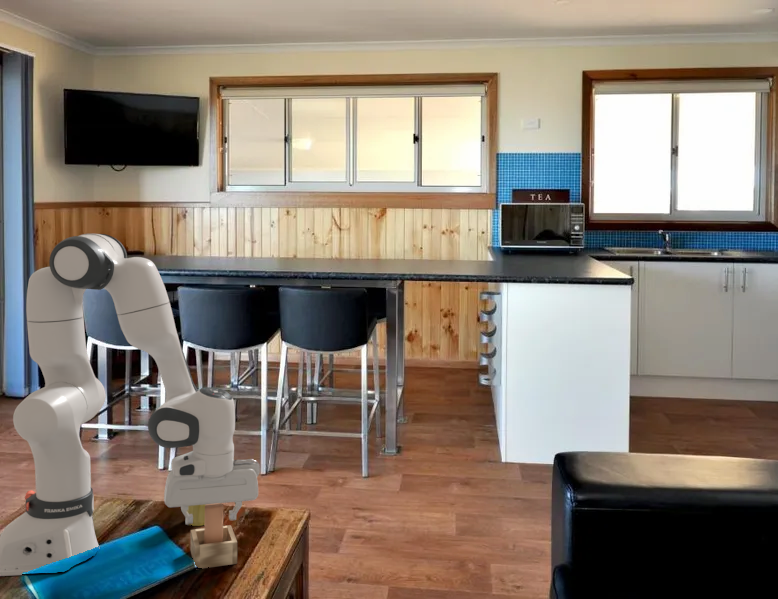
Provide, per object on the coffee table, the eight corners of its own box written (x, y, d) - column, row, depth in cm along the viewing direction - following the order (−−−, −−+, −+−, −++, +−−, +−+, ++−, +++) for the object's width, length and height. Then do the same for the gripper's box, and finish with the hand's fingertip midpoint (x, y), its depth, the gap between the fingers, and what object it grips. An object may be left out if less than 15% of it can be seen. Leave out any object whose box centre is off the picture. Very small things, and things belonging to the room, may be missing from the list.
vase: (204, 527, 175) (205, 471, 173) (181, 524, 176) (181, 468, 175) (215, 517, 181) (216, 463, 179) (192, 514, 182) (193, 460, 181)
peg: (205, 562, 158) (205, 510, 156) (203, 554, 162) (203, 503, 160) (223, 560, 159) (224, 508, 158) (221, 552, 163) (221, 501, 162)
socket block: (194, 569, 155) (195, 547, 154) (190, 550, 163) (190, 529, 162) (237, 563, 158) (237, 542, 157) (230, 545, 166) (230, 525, 166)
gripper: (257, 453, 165) (255, 511, 166) (164, 459, 157) (162, 519, 159) (262, 463, 159) (260, 522, 160) (166, 469, 151) (164, 532, 153)
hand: (211, 521), depth 159 cm, fingers open, 8 cm apart
